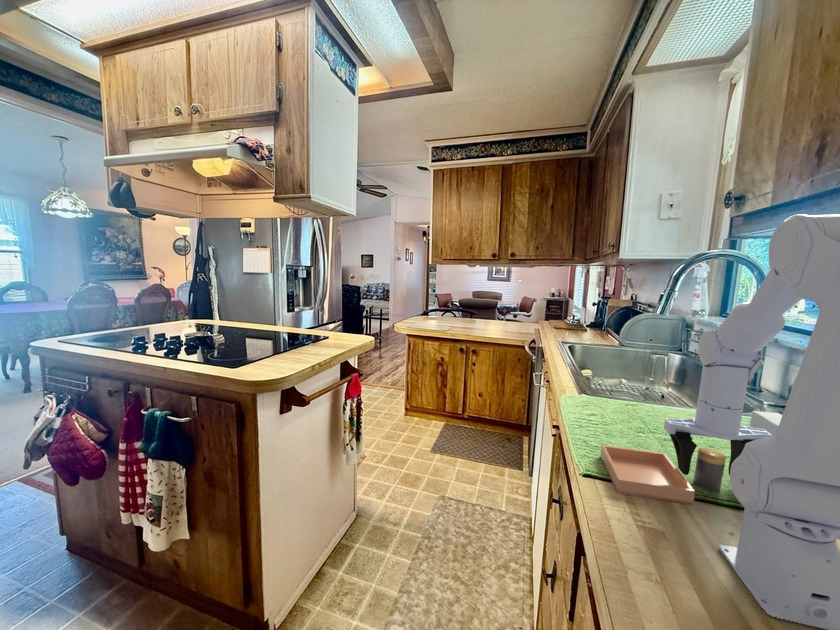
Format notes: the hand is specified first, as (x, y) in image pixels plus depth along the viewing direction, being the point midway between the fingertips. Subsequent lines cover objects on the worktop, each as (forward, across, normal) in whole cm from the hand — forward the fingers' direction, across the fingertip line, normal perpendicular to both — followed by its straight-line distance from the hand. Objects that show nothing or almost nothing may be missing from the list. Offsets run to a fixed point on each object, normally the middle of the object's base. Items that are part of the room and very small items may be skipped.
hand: (708, 474), depth 58 cm
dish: (+2, +10, +1) cm, 11 cm away
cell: (+2, 0, 0) cm, 2 cm away
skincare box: (+2, -11, -4) cm, 12 cm away
